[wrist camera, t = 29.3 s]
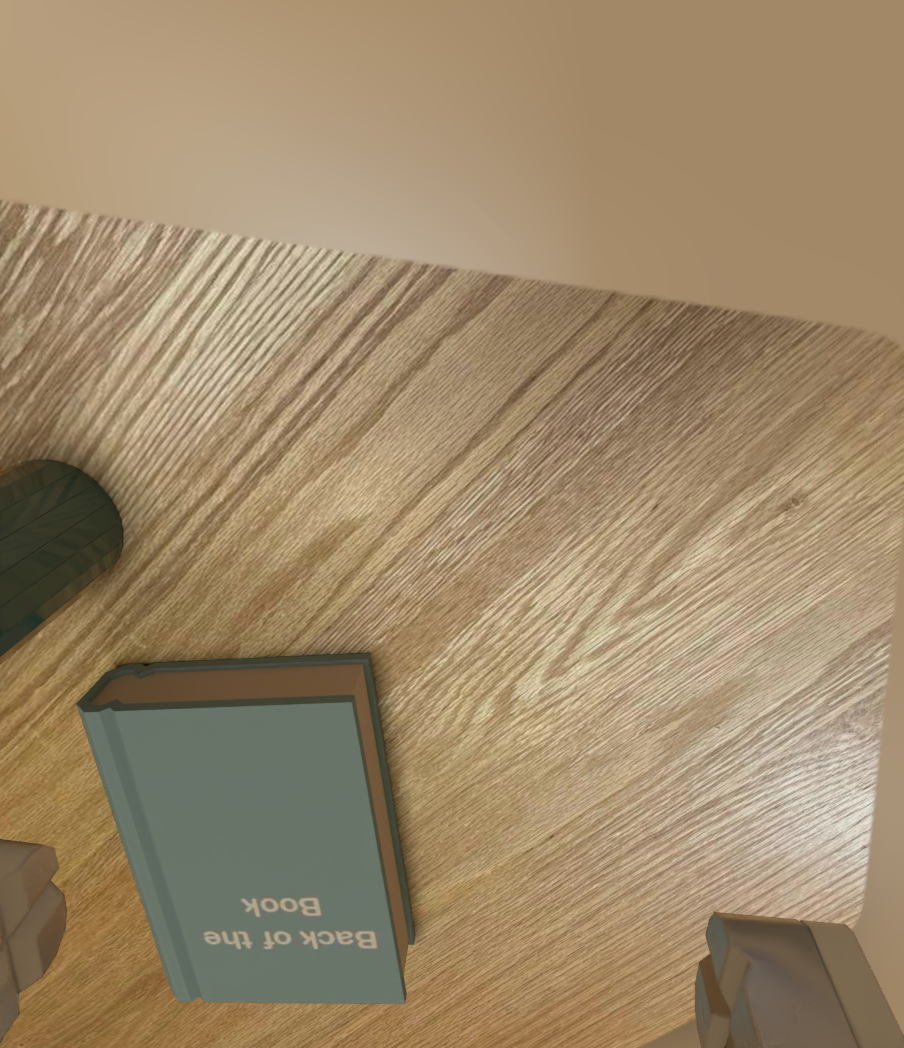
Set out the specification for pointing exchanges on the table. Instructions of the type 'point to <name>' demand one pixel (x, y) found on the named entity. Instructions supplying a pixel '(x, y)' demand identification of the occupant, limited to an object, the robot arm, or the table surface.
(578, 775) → the table surface
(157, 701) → the book
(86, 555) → the tube
